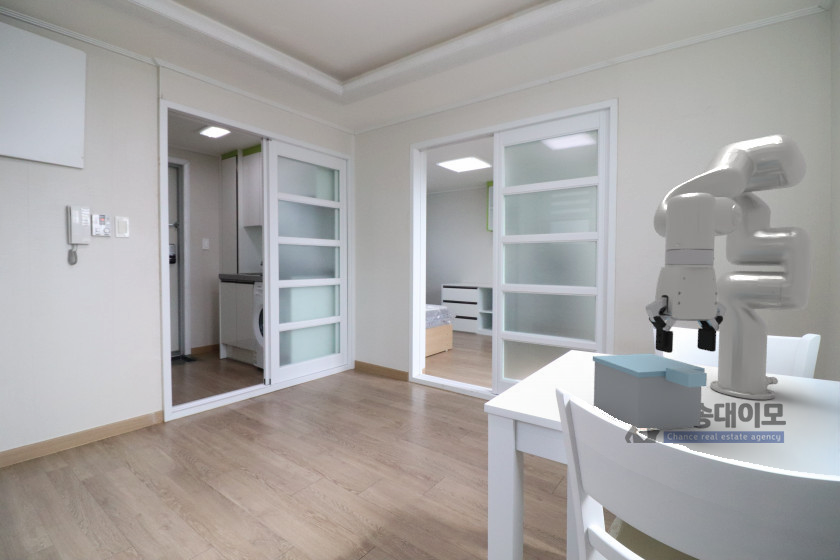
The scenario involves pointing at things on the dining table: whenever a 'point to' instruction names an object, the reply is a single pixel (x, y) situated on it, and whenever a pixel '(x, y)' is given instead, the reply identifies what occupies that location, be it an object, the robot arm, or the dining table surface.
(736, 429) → the dining table surface
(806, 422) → the dining table surface
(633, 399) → the cubby
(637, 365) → the lid
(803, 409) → the dining table surface
